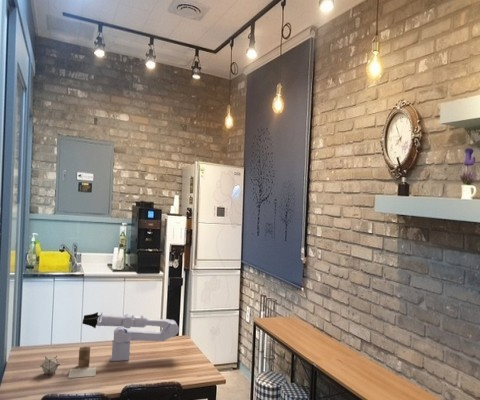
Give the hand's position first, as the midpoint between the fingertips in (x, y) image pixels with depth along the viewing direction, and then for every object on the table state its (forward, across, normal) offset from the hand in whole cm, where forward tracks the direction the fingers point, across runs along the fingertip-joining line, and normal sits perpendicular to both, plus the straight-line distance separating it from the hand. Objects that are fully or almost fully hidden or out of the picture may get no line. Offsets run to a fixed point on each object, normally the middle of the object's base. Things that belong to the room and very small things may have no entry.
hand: (83, 319), depth 208 cm
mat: (-4, +16, +22) cm, 27 cm away
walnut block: (-4, +8, +22) cm, 23 cm away
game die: (+11, +14, +23) cm, 29 cm away
